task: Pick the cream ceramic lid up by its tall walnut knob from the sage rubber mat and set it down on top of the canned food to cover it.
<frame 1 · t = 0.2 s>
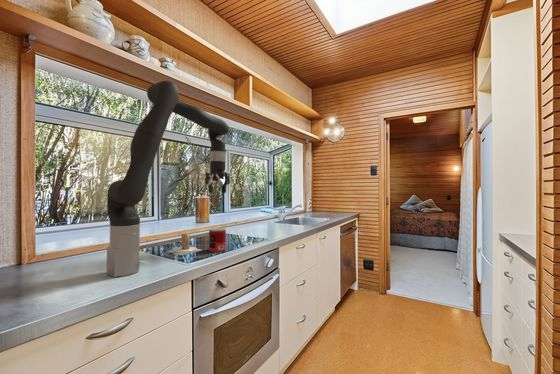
hand: (217, 193, 129), 28 cm above the countertop, fingers open, 8 cm apart
mat: (185, 252, 122), on the countertop
canned food: (217, 251, 124), on the countertop
lid: (185, 250, 122), point 1 cm above the countertop, touching mat
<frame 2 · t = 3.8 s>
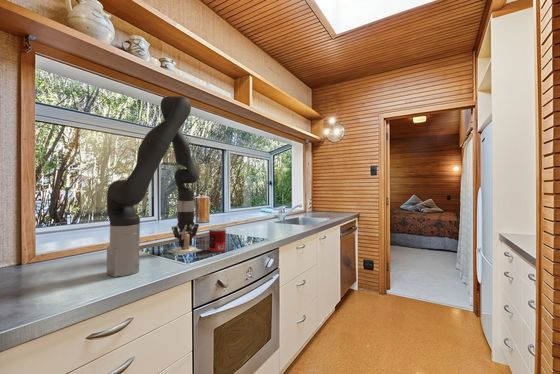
hand: (185, 246, 122), 3 cm above the countertop, fingers closed on lid, 3 cm apart
lid: (185, 250, 122), point 1 cm above the countertop, touching gripper, mat
everything else where it was.
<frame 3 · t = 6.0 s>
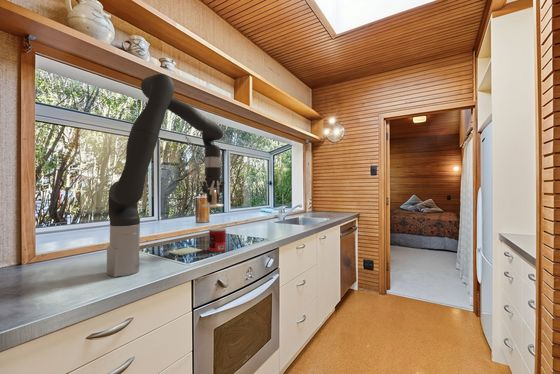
hand: (212, 202, 124), 24 cm above the countertop, fingers closed on lid, 3 cm apart
lid: (212, 206, 124), point 22 cm above the countertop, touching gripper
everything else where it was.
when the fingers open (15 cm above the countertop, at t = 8.5 s): lid drops 1 cm, resting on canned food.
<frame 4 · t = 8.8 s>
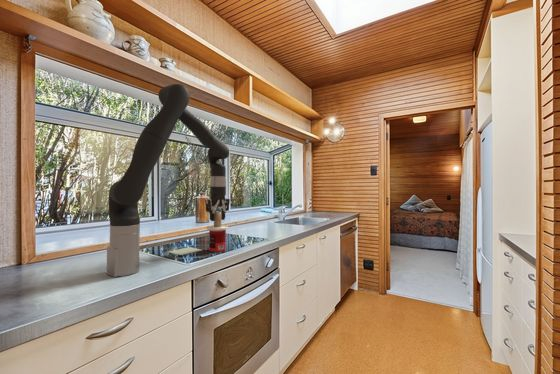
hand: (217, 220, 124), 15 cm above the countertop, fingers open, 6 cm apart
canned food: (217, 251, 124), on the countertop, touching lid
lid: (217, 228, 124), point 11 cm above the countertop, touching canned food
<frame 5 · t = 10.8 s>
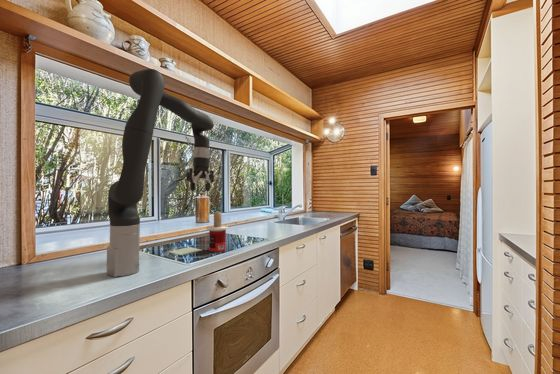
hand: (200, 190, 123), 29 cm above the countertop, fingers open, 8 cm apart
nothing on the countertop moved.
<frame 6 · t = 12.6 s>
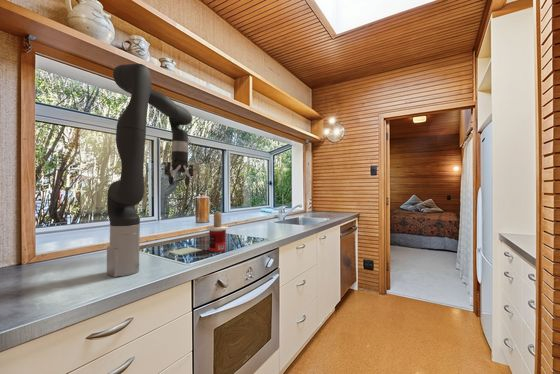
hand: (179, 184, 123), 32 cm above the countertop, fingers open, 8 cm apart
nothing on the countertop moved.
at the end: lid 0.1 cm from the canned food (horizontally); lid point 10.9 cm above the countertop; lid tilted 0° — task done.
